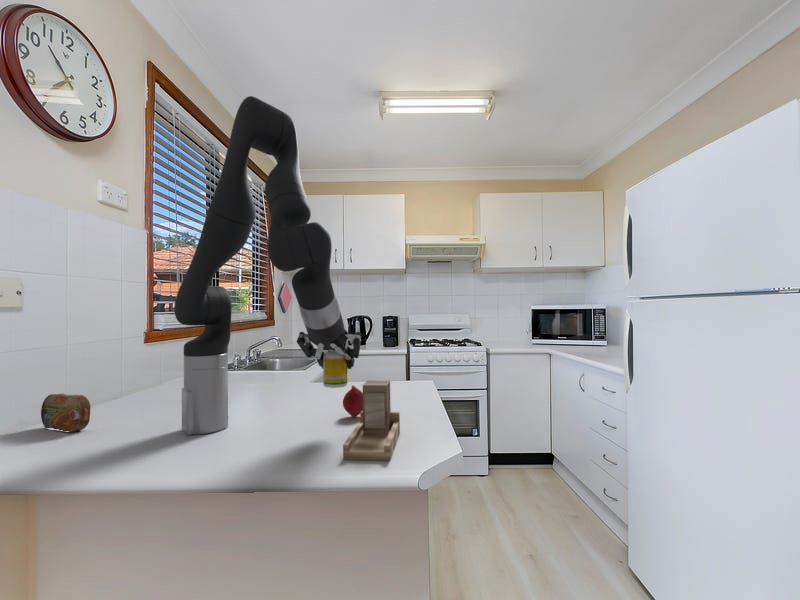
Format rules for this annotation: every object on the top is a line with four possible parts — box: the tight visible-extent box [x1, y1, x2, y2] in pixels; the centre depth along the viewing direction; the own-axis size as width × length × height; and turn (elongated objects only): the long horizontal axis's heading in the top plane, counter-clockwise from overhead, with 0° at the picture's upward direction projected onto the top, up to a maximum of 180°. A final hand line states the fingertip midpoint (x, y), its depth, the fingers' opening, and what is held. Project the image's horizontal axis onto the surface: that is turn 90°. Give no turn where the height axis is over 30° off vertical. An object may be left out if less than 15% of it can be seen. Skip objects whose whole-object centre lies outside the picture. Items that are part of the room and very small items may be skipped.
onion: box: [342, 384, 363, 418], centre depth 98 cm, size 6×6×8 cm
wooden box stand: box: [342, 380, 401, 462], centre depth 78 cm, size 16×8×12 cm, turn 174°
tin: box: [40, 393, 92, 433], centre depth 92 cm, size 15×3×8 cm, turn 68°
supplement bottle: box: [322, 350, 348, 389], centre depth 87 cm, size 5×5×10 cm
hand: (337, 365), depth 89 cm, fingers closed on supplement bottle, 5 cm apart
